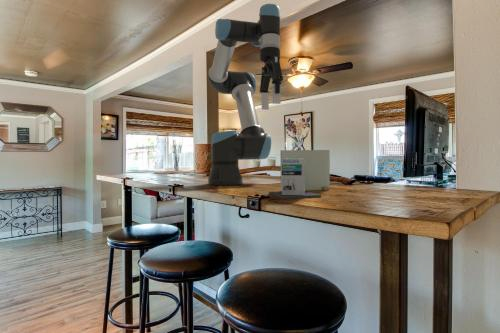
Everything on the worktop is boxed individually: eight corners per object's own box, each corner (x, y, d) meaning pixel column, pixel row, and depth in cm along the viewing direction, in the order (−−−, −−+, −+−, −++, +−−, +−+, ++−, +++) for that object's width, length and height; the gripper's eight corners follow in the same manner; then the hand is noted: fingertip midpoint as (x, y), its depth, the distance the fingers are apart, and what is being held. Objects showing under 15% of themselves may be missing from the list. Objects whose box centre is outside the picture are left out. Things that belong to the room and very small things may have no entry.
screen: (279, 190, 101) (279, 150, 101) (326, 188, 106) (325, 150, 105) (283, 191, 98) (283, 150, 97) (331, 189, 102) (331, 149, 101)
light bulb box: (304, 195, 83) (304, 158, 83) (281, 195, 84) (280, 158, 84) (304, 191, 94) (304, 157, 93) (283, 191, 95) (283, 158, 94)
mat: (269, 193, 93) (269, 191, 93) (303, 192, 96) (303, 190, 96) (282, 199, 82) (282, 197, 82) (321, 197, 84) (321, 195, 84)
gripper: (251, 59, 119) (252, 111, 120) (270, 34, 95) (271, 100, 96) (269, 60, 121) (269, 111, 122) (292, 36, 97) (292, 101, 98)
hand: (270, 106), depth 109 cm, fingers open, 13 cm apart
